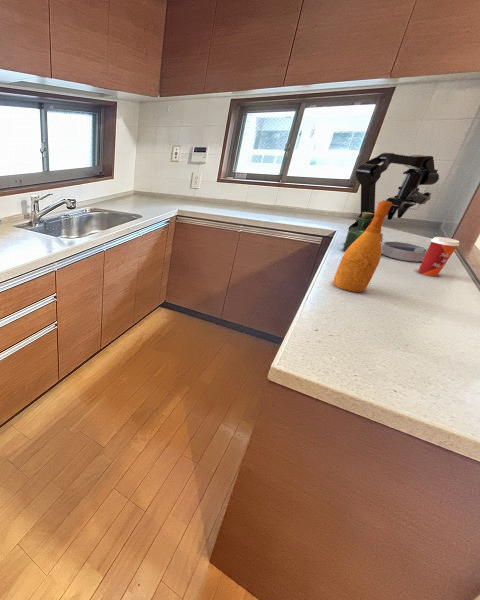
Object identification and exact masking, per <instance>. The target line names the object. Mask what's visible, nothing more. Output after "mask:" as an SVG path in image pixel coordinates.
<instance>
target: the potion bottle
mask: <svg viewBox="0 0 480 600" xmlns="http://www.w3.org/2000/svg"><path fill="white" fill-rule="evenodd" d="M372 215H373V213H369V212H362V217H358V216H357V217H358V218H357V217H356V220H357V221H359V222H358V226H357V227H353V228H351V229H349V228H348V230H349V231H347V234H346V237H345V241H344V243H345V244H343V248H342V251H343V252H344V253H345V252H346V250H347V249H348V248H349V246H350V245H351V244H352V243H353V242H354V241H355V240H356V239H358V238H359V237H360V236H361V235H362V234H363V233H364V232H365V230H366V229H367V228H366V226H367V225H368V224H369V223H370V222H372V220H373V219H371V216H372Z"/></svg>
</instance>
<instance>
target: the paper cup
mask: <svg viewBox="0 0 480 600" xmlns="http://www.w3.org/2000/svg"><path fill="white" fill-rule="evenodd" d="M459 246H460V241H459V239H455V238H449V237H443V236H434V237H433V238H432V239H431V240H430V244H429V246H428V248H427V249H428V250H427V252H426V255H425V257H424V259H423V261H421V264H420V266H419V268H418V270H417V272H418V274H421V275H424V276H428V277H437V276H438V275H439V274H440V273H441V271H442V269H443V268H444V267H445V265H446V264H447V263H448V261H449V260H450V258H451V256H452V255H453V253H454V252H455V251H456V249H457V247H459Z"/></svg>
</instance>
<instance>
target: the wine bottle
mask: <svg viewBox="0 0 480 600" xmlns="http://www.w3.org/2000/svg"><path fill="white" fill-rule="evenodd" d="M391 206H392V202H390V201H386V200H380V201H379V202H378V203H377V207H376V208H375V209H376V210H375V212H374V215H375V216H374V218H373V220H372V222H371V224H370V225H369V226H368V228H367V229H366V230H365V232H364V233H363V234H362V235H361V236H360V237H359V238H358V239H356V240H355V241H354V242H353V243H352V244H351V245H350V246H349V248H348V249H347V250H346V252H344V253H343V255H342V257H341V259H340V262H339V264H338V267H337V269H336V272H335V275H334V278H333V280H332V283H333V285H334V286H335V287H337V288H339V289H341V290H344V291H348V292H355V293H359V292H363V291H365V290H366V289H367V287H368V286H369V284H370V282H371V280H372V278H373V277H374V274H375V272H376V270H377V268H378V266H379V264H380V261H381V257H382V254H381V245H382V243H383V242H384V241H383V240H384V233H382V226H383V223H384V221H385V218H386V217H388V216H387V215H388V211H389V209H390V208H391Z"/></svg>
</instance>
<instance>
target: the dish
mask: <svg viewBox="0 0 480 600" xmlns="http://www.w3.org/2000/svg"><path fill="white" fill-rule="evenodd" d="M390 246H396V247H408V248H423V249H426V252H427V250H428V248H427V247H424V246H421V245H417V244H413V243H408V242H402V241H390V240H389V241H388V240H387V241H382V242H381V255H383V256H386V257H388V258H391V259H394V260H399V261H404V262H415V263H416V262H417V263H418V262H422V261H423V259H424V257H425V255H426V252H411V251H405V250H400V249H396V248H392V247H390Z"/></svg>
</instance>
